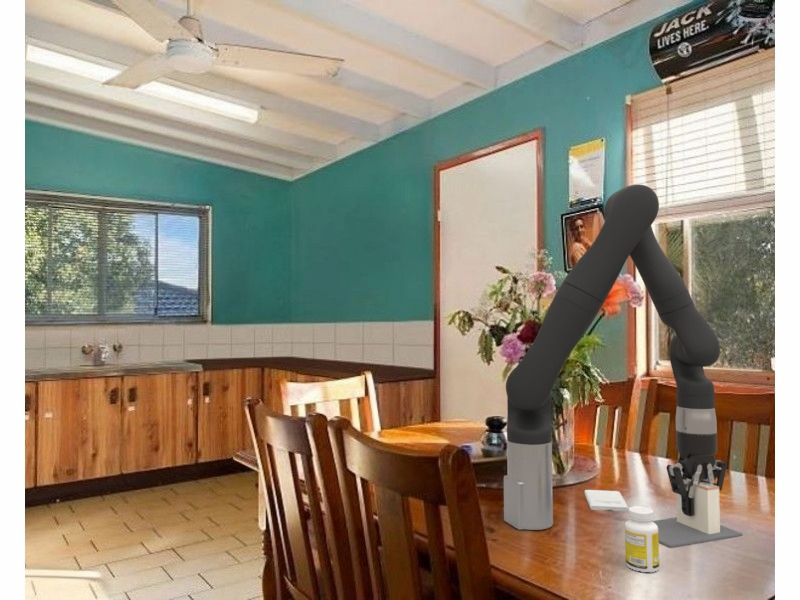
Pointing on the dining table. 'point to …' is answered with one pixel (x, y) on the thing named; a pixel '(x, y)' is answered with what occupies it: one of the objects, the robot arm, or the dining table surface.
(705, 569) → the dining table surface
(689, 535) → the mat
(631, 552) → the supplement bottle
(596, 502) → the external hard drive
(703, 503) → the slab
